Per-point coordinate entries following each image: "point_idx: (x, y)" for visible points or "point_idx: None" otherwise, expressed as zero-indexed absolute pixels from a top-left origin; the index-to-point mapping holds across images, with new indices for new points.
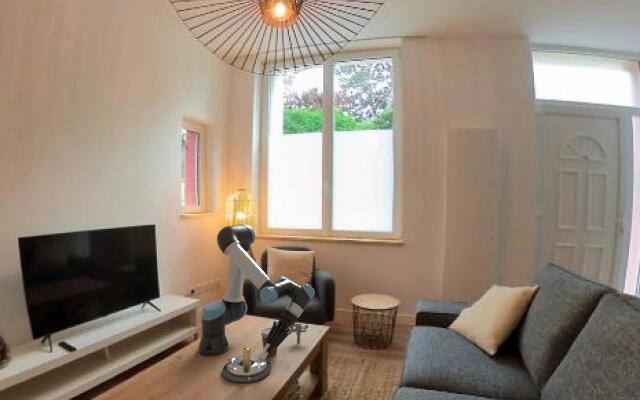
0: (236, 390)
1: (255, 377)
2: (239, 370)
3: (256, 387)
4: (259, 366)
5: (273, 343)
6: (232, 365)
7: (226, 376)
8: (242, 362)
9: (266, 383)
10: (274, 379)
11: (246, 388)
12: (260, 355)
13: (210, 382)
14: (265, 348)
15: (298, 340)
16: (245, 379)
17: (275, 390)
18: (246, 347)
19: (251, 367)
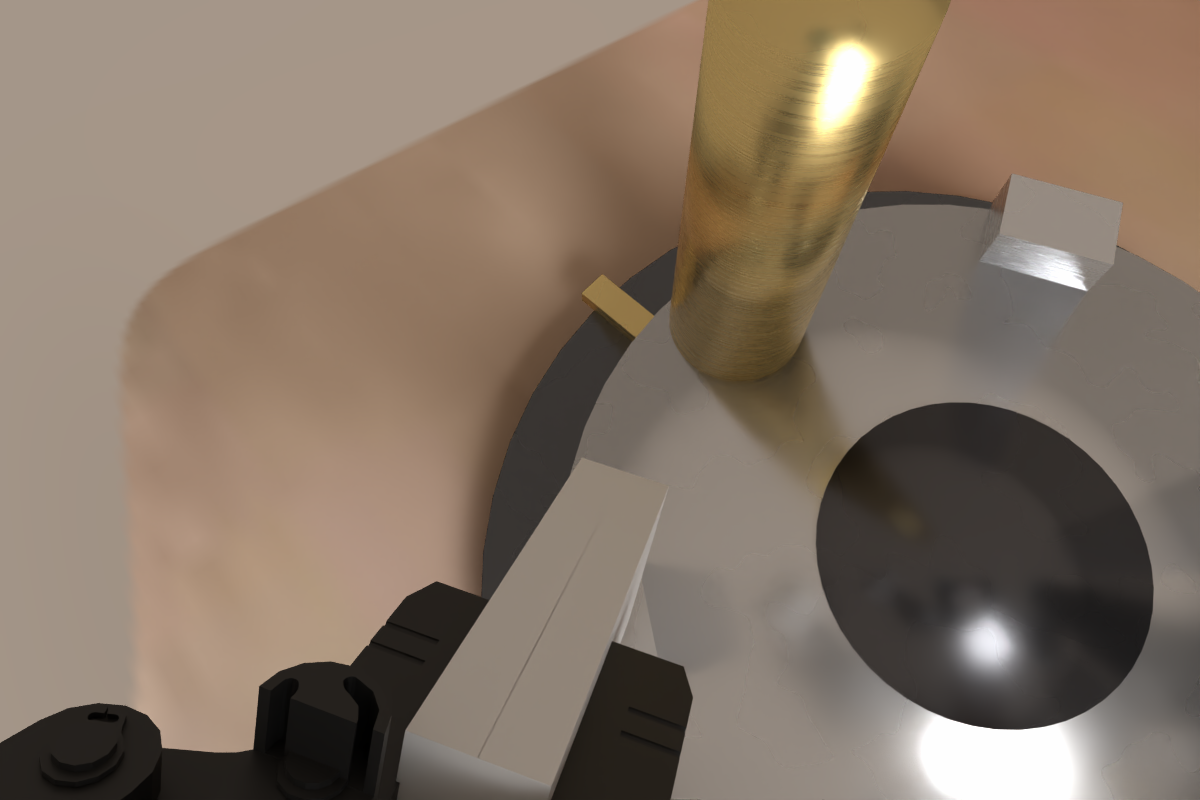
0: (620, 126)
1: (564, 401)
2: (855, 275)
3: (435, 300)
4: (658, 587)
5: (113, 737)
6: (1046, 243)
7: (964, 197)
8: (1069, 514)
9: (368, 457)
10: (317, 629)
11: (541, 216)
12: (609, 484)
13: (1051, 88)
14: (530, 606)
15: None
16: (658, 279)
17: (138, 380)
18: (915, 25)
19: (763, 468)
